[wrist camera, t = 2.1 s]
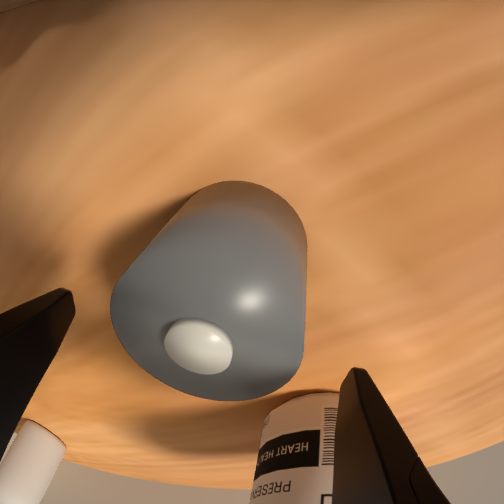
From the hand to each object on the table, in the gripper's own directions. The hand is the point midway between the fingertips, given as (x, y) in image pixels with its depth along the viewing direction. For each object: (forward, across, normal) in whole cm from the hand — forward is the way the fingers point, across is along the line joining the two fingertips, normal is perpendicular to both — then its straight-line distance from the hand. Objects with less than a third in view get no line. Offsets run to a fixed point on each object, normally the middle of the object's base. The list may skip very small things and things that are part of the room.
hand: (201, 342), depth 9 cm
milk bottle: (+6, +24, +40) cm, 47 cm away
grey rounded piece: (+6, 0, 0) cm, 6 cm away
